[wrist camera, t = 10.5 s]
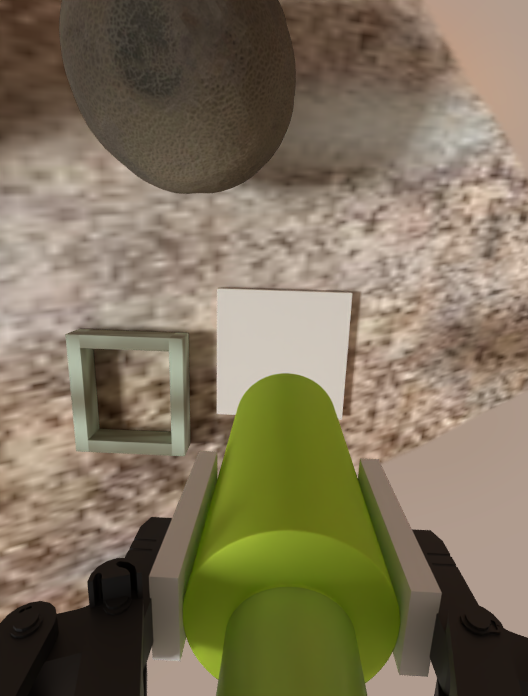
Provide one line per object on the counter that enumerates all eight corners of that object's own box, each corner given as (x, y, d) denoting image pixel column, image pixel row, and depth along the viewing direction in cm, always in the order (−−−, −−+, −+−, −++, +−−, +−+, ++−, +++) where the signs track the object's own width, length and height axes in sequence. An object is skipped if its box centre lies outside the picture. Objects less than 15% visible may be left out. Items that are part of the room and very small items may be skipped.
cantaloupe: (120, 197, 34) (4, 159, 20) (123, 7, 31) (-14, -209, 16) (281, 215, 34) (283, 189, 20) (302, 26, 31) (324, -176, 16)
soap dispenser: (242, 349, 22) (-14, 1004, 3) (353, 397, 23) (759, 1243, 3) (205, 436, 24) (-133, 1258, 4) (309, 479, 24) (421, 1409, 5)
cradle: (79, 328, 37) (65, 334, 35) (188, 332, 37) (182, 338, 35) (88, 439, 40) (76, 451, 38) (190, 443, 40) (184, 456, 37)
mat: (218, 287, 36) (217, 288, 35) (350, 292, 36) (352, 293, 35) (218, 410, 39) (216, 413, 38) (340, 415, 38) (341, 419, 38)
